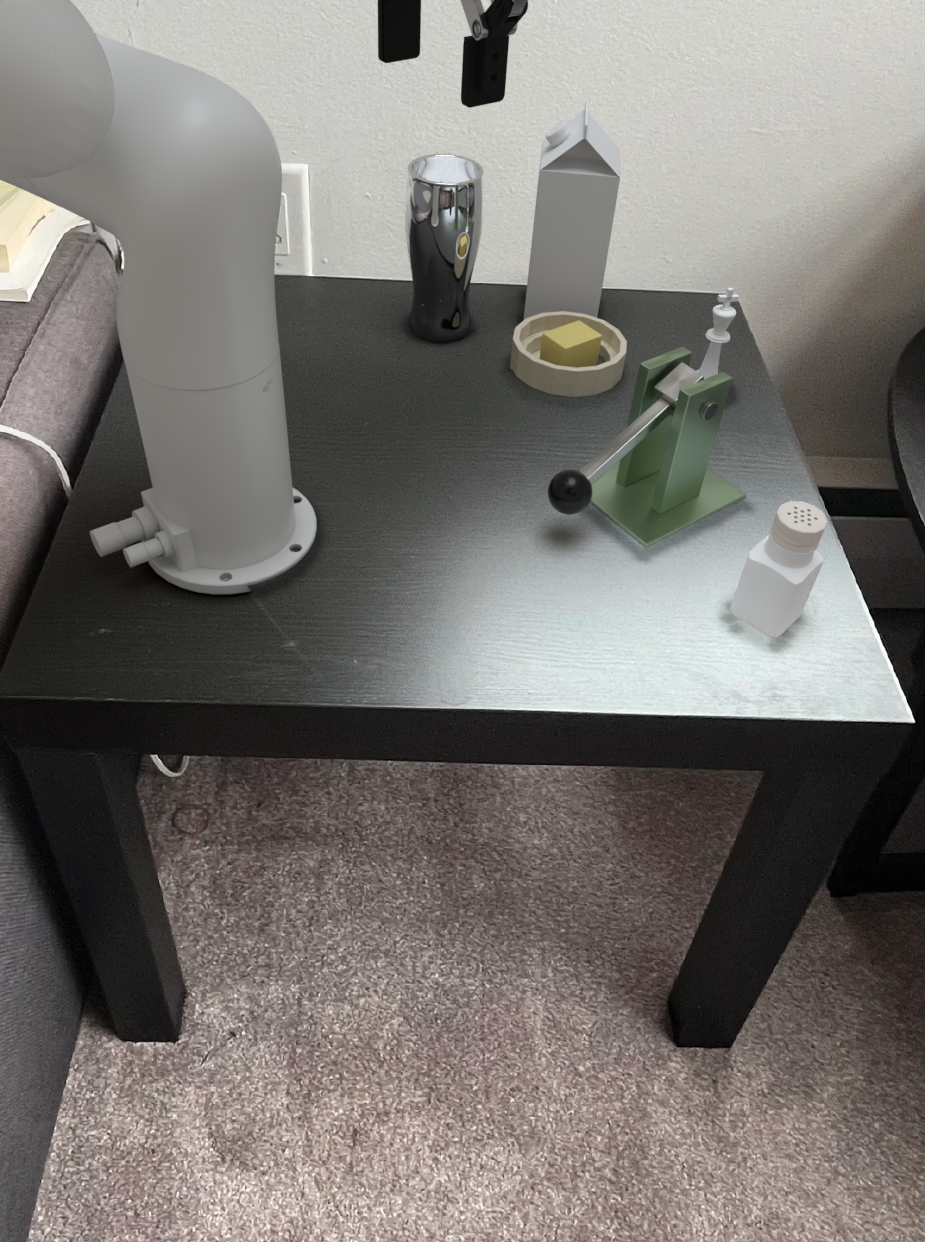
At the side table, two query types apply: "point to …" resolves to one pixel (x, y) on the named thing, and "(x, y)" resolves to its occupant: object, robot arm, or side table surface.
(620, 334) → the beige bottomless ring
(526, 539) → the side table surface
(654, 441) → the green lever stand
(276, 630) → the side table surface
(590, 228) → the milk carton
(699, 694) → the side table surface
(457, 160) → the beer glass
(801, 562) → the pepper shaker
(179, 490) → the robot arm
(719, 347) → the chess piece
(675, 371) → the lever
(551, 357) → the butter
